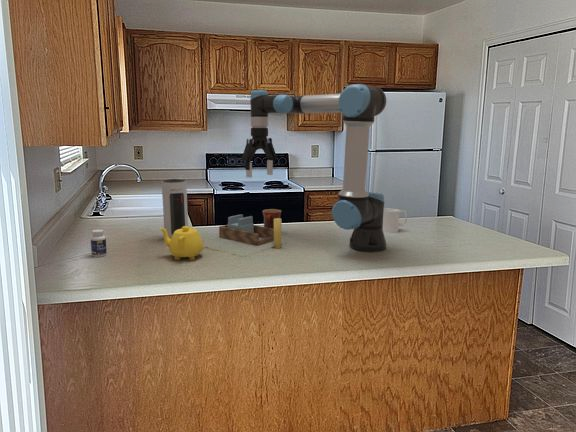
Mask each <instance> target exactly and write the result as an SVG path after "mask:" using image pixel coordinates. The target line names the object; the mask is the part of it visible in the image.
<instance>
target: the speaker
mask: <svg viewBox="0 0 576 432" xmlns="http://www.w3.org/2000/svg"><path fill="white" fill-rule="evenodd" d="M187 189H188V188H187V180H185V179H177V178H170V179H165V180H161V195H162V212H163V228H164V229H166V230H167V233H168V237H169V238H170V239H171V238H172V236H173V233H174V232H175V231H176V230H178V229H182V227H183V226H188V227H189V216H188V215H189V214H188V213H189V212H188V194H187V193H188V191H187Z"/></svg>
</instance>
